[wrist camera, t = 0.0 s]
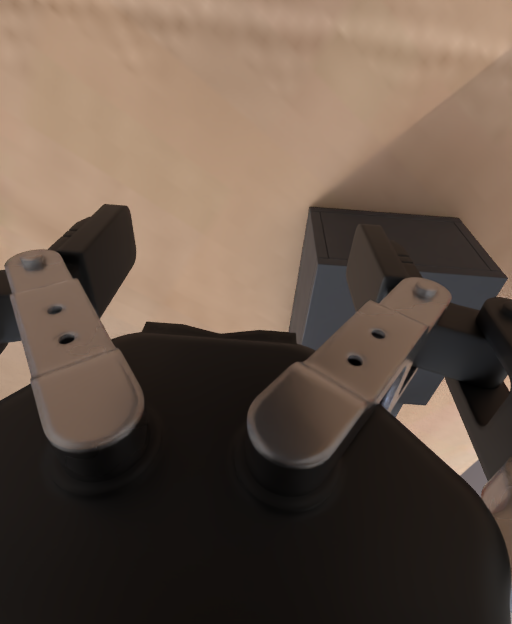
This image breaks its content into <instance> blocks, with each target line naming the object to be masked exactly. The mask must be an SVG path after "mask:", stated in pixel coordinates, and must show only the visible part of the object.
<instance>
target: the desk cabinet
mask: <svg viewBox="0 0 512 624" xmlns="http://www.w3.org/2000/svg"><path fill="white" fill-rule="evenodd" d="M358 224H368V225H380V226H382V228H383V230H384V232H385V233H386V235H387V237H388V239H389V240H394V241H396V242H397V243H399V244H400V245H401V246H403V247H404V248H405V250H406V251H407V253H408V255H409V257H410V258H411V259H412V261H413V264H415V266H416V268H417V269H418V271H419V272H420V274H421V276H422V277H423V278H424V279H428V280H431V281H434V282H436V283H438V284H440V285H442V286H444V287H445V288H446V289H447V290H448V291H449V292H450V294H451V296H452V299H451V301H450V302H451V303H454V304H457V305H461V306H465V307H469V308H473V309H477V310H480V309H481V308H482V306H483V304H484V302H485V301H486V300H487V299H489V298H493V297H496V296H497V295H498V293H499V292H500V290H501V288H502V287H503V285H504V284H505V282H506V281H507V279H508V278H507V276H506V275H505V274H504V273H503V272H502V271H501V269H500V268H499V267H498V266H497V264H496V263H495V262H494V261H493V260H492V258H491V257H490V256H489V255H488V253H487V252H486V251H485V250H484V248H483V247H482V246H481V245H480V244H479V242H478V241H477V240H476V239H475V237H474V236H473V235H472V234H471V232H470V231H469V230H468V229H467V228H466V226H465V225H464V224H463V223H462V221H461V220H460V219H459V218H450V217H437V216H424V215H411V214H397V213H384V212H371V211H358V210H344V209H331V208H318V207H309V213H308V219H307V225H306V231H305V237H304V243H303V249H302V255H301V261H300V267H299V273H298V279H297V285H296V291H295V297H294V303H293V309H292V315H291V321H290V327H289V332H291V333H296V341H297V344H301V345H304V346H306V347H309V348H312V349H314V350H317V349H318V348H319V347H321V346H322V345H323V344H324V343H325V342H326V341H327V340H328V339H329V338H330V337H331V336H332V335H333V334H334V333H335V332H336V331H337V330H338V329H339V328H340V327H341V326H343V325H344V324H345V323H346V322H347V321H348V320H349V319H350V318H351V317H352V316H353V315H354V314H355V313H356V311H355V308H354V304H353V301H352V298H351V294H350V291H349V287H348V284H347V280H346V269H347V263H348V259H349V255H350V251H351V247H352V243H353V239H354V235H355V231H356V228H357V226H358ZM444 377H445V376H442V375H439V374H436V373H432V372H429V371H426V370H423V369H419V368H418V369H417V371H416V373H415V375H414V376H413V378H412V379H411V381H410V382H409V384H408V385H407V387H406V388H405V390H404V392H403V393H402V395H401V396H400V398H399V399H398V401H397V402H396V403H401V404H414V405H426V404H427V403H428V401H429V400H430V398H431V397H432V395H433V394H434V392H435V391H436V389H437V387H438V386H439V384H440V383H441V381H442V380H443V378H444Z"/></svg>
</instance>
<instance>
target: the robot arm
mask: <svg viewBox="0 0 512 624" xmlns="http://www.w3.org/2000/svg"><path fill="white" fill-rule="evenodd" d="M135 259H136V245H135V239H134V232H133V226H132V220H131V214H130V210H129V208H128V207H127V206H123V205H109V204H104V205H103V206H102V207H101V208H100V209H99V210H98V211H97V212H96V213H94V214H93V215H92V216H91V217H88V218H86V219H83V220H81V221H79V222H77V223H76V224H75V225H74V226H72V227H71V228H70V229H69V231H67V232H66V233H65V234H64V235H63V237H61V238H60V239H58V240H57V241H56V242H55V243H54V244H53V245H52V246H51V247H50V248H49V249H48V250H45V249H40V250H31V251H26V252H23V253H20V254H17V255H15V256H13V257H11V258H10V259H9V260H7V262H6V263H5V270H0V354H1V353H2V351H3V350H4V349H5V348H6V346H7V345H8V342H15V341H22V344H23V347H24V351H25V355H26V358H27V362H28V366H29V369H30V373H31V384H29V385H27V386H26V387H24V388H22V389H20V390H18V391H17V392H15V393H13V394H11V395H10V396H8V397H6V398H4V399H2V400H1V401H0V624H511V620H510V619H511V618H510V612H511V613H512V299H507V298H501V297H493V298H489V299H487V300H486V301H485V302H484V304H483V306H482V308H481V309H480V310H477V309H473V308H469V307H465V306H461V305H457V304H454V303H451V302H450V301H451V299H452V296H451V294H450V292H449V291H448V290H447V289H446V288H445V287H444V286H442V285H440V284H438V283H436V282H434V281H431V280H428V279H424V278H423V277H422V276H421V274H420V272H419V271H418V269H417V268H416V266H415V264H413V261H412V259H411V258H410V257H409V255H408V253H407V251H406V250H405V248H404V247H403V246H401V245H400V244H399V243H397V242H396V241H394V240H389V239H388V237H387V235H386V233H385V232H384V230H383V228H382V226H380V225H368V224H358V226H357V228H356V231H355V235H354V239H353V243H352V247H351V251H350V255H349V259H348V263H347V269H346V280H347V284H348V287H349V291H350V294H351V298H352V301H353V304H354V308H355V311H356V313H355V314H354V315H353V316H352V317H351V318H350V319H349V320H348V321H347V322H346V323H345V324H344V325H343V326H341V327H340V328H339V329H338V330H337V331H336V332H335V333H334V334H333V335H332V336H331V337H330V338H329V339H328V340H327V341H326V342H325V343H324V344H323V345H322V346H321V347H319V348H318V349H317V350H314V349H312V348H309V347H306V346H304V345H301V344H297V341H296V333H291V332H278V331H265V330H255V331H245V332H235V333H225V334H219V333H214V332H210V331H207V330H203V329H199V328H195V327H191V326H187V325H183V324H171V323H157V322H146V324H145V326H144V328H143V330H142V332H138V333H132V334H127V335H124V336H120V337H117V338H114V339H110V337H109V335H108V333H107V332H106V330H105V328H104V326H103V324H102V322H101V321H100V318H101V316H102V314H103V313H104V311H105V310H106V308H107V306H108V305H109V303H110V302H111V300H112V298H113V297H114V295H115V294H116V292H117V290H118V289H119V287H120V286H121V284H122V282H123V281H124V279H125V278H126V276H127V274H128V273H129V271H130V270H131V268H132V266H133V265H134V263H135ZM418 368H419V369H423V370H426V371H429V372H432V373H436V374H439V375H442V376H445V380H446V383H447V385H448V387H449V390H450V392H451V394H452V397H453V399H454V402H455V404H456V406H457V409H458V411H459V413H460V416H461V418H462V421H463V423H464V425H465V428H466V430H467V432H468V435H469V437H470V440H471V442H472V444H473V447H474V449H475V452H476V454H477V456H478V459H479V461H480V463H481V466H482V468H483V471H484V473H485V475H486V478H487V480H488V482H487V483H486V485H485V486H484V487H483V490H482V494H481V497H479V495H478V494H477V493H476V491H475V490H474V489H473V488H472V487H471V486H470V485H469V484H468V483H467V482H466V481H465V480H464V479H463V478H462V477H460V476H459V475H458V474H457V473H456V472H455V471H454V470H453V469H452V468H450V467H449V466H448V465H447V464H446V463H445V462H444V461H443V460H442V459H441V458H439V457H438V456H437V455H436V454H435V453H434V452H433V451H432V450H431V449H429V448H428V447H427V446H426V445H425V444H424V443H423V442H422V441H421V440H419V439H418V438H417V437H416V436H415V435H414V434H413V433H412V432H411V431H410V430H408V429H407V428H406V427H405V426H404V425H403V424H402V423H401V422H400V421H398V420H397V419H396V418H395V417H394V416H393V415H392V414H391V413H390V412H391V410H392V409H393V407H394V405H395V404H396V402H397V401H398V399H399V398H400V396H401V395H402V393H403V392H404V390H405V388H406V387H407V385H408V384H409V382H410V381H411V379H412V378H413V376H414V375H415V373H416V371H417V369H418ZM507 375H509V378H510V382H511V389H510V392H509V390H508V388H507V387H506V385H505V383H504V379H505V378H506V376H507Z"/></svg>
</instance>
